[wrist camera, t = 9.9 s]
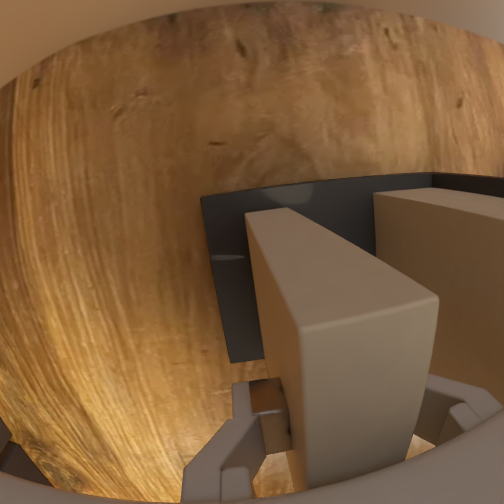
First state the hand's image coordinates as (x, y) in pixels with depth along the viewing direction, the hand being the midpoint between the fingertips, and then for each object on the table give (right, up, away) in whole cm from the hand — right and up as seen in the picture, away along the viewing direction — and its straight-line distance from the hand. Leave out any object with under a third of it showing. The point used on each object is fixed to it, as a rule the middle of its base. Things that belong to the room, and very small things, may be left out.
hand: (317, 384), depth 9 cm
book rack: (+4, +3, +11) cm, 12 cm away
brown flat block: (-1, +2, +9) cm, 9 cm away
